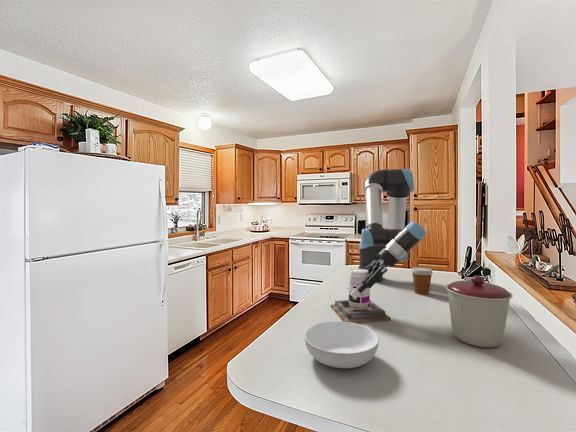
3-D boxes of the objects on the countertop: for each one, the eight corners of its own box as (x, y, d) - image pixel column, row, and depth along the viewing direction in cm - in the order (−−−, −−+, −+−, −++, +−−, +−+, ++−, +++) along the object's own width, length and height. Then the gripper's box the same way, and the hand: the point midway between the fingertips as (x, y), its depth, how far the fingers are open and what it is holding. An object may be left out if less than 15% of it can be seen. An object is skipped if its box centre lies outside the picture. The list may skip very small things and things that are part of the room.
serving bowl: (328, 335, 101) (328, 315, 101) (389, 355, 88) (390, 332, 87) (289, 361, 85) (289, 337, 85) (357, 390, 72) (357, 362, 71)
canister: (446, 324, 109) (447, 267, 108) (507, 335, 100) (509, 273, 99) (443, 344, 94) (444, 278, 93) (514, 360, 85) (517, 286, 84)
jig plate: (330, 306, 128) (330, 299, 128) (370, 304, 131) (370, 297, 131) (345, 323, 111) (345, 315, 111) (390, 320, 114) (390, 312, 113)
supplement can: (367, 304, 125) (367, 268, 124) (371, 311, 116) (371, 273, 116) (347, 303, 125) (347, 268, 125) (349, 310, 117) (350, 272, 117)
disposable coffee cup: (435, 296, 143) (436, 271, 142) (415, 295, 143) (416, 271, 142) (427, 290, 152) (427, 266, 152) (408, 290, 152) (408, 266, 152)
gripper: (407, 266, 109) (362, 309, 110) (390, 255, 130) (353, 292, 131) (392, 251, 109) (347, 294, 110) (378, 243, 130) (341, 280, 131)
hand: (350, 293), depth 121 cm, fingers closed on supplement can, 8 cm apart
